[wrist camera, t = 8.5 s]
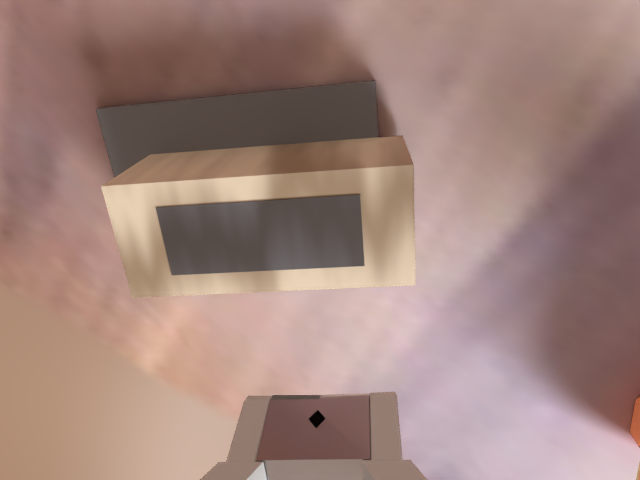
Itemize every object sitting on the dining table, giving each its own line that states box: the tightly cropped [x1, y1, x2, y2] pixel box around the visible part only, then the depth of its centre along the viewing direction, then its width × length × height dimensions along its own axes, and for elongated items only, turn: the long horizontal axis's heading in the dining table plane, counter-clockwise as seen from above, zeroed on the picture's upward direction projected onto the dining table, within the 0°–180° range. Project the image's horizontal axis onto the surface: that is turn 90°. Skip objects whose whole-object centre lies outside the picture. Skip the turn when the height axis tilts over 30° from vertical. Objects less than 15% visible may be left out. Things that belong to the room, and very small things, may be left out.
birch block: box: [101, 136, 415, 298], centre depth 22 cm, size 5×5×12 cm
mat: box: [96, 80, 379, 177], centre depth 25 cm, size 10×13×1 cm
